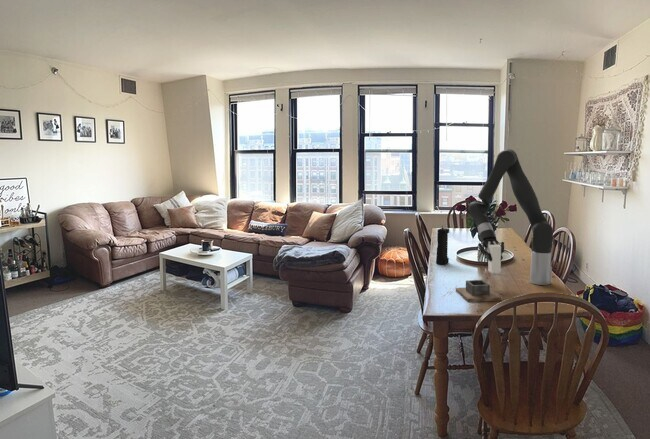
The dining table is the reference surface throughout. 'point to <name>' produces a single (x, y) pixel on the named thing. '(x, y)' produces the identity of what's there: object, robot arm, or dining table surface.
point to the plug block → (495, 259)
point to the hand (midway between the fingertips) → (496, 260)
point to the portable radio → (442, 246)
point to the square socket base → (477, 291)
